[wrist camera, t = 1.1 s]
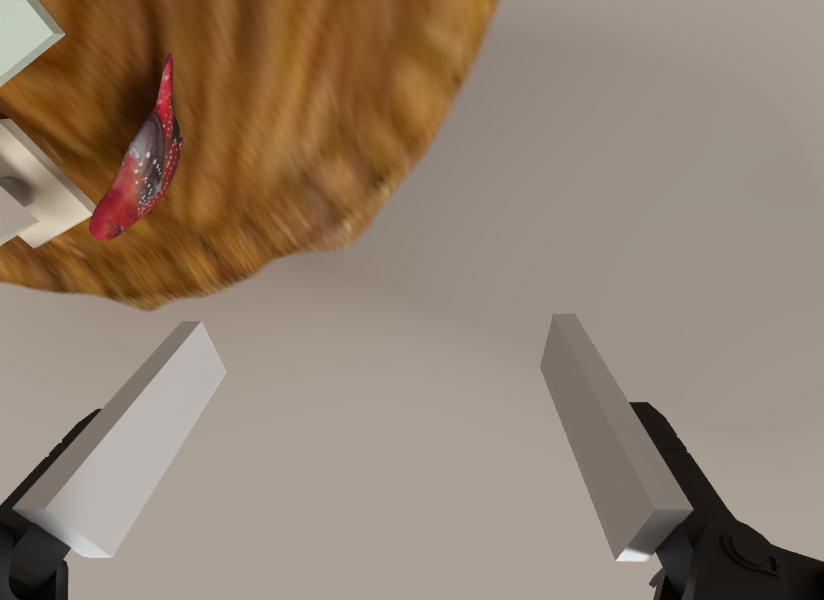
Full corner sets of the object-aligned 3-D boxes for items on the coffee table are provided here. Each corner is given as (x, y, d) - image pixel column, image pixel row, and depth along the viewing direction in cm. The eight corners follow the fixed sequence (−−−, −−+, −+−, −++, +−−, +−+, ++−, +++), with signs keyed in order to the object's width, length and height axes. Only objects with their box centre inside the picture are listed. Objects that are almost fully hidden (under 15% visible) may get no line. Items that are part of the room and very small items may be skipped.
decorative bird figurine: (146, 204, 38) (70, 243, 30) (196, 42, 30) (109, 34, 21) (173, 219, 39) (107, 261, 30) (228, 66, 30) (157, 67, 22)
